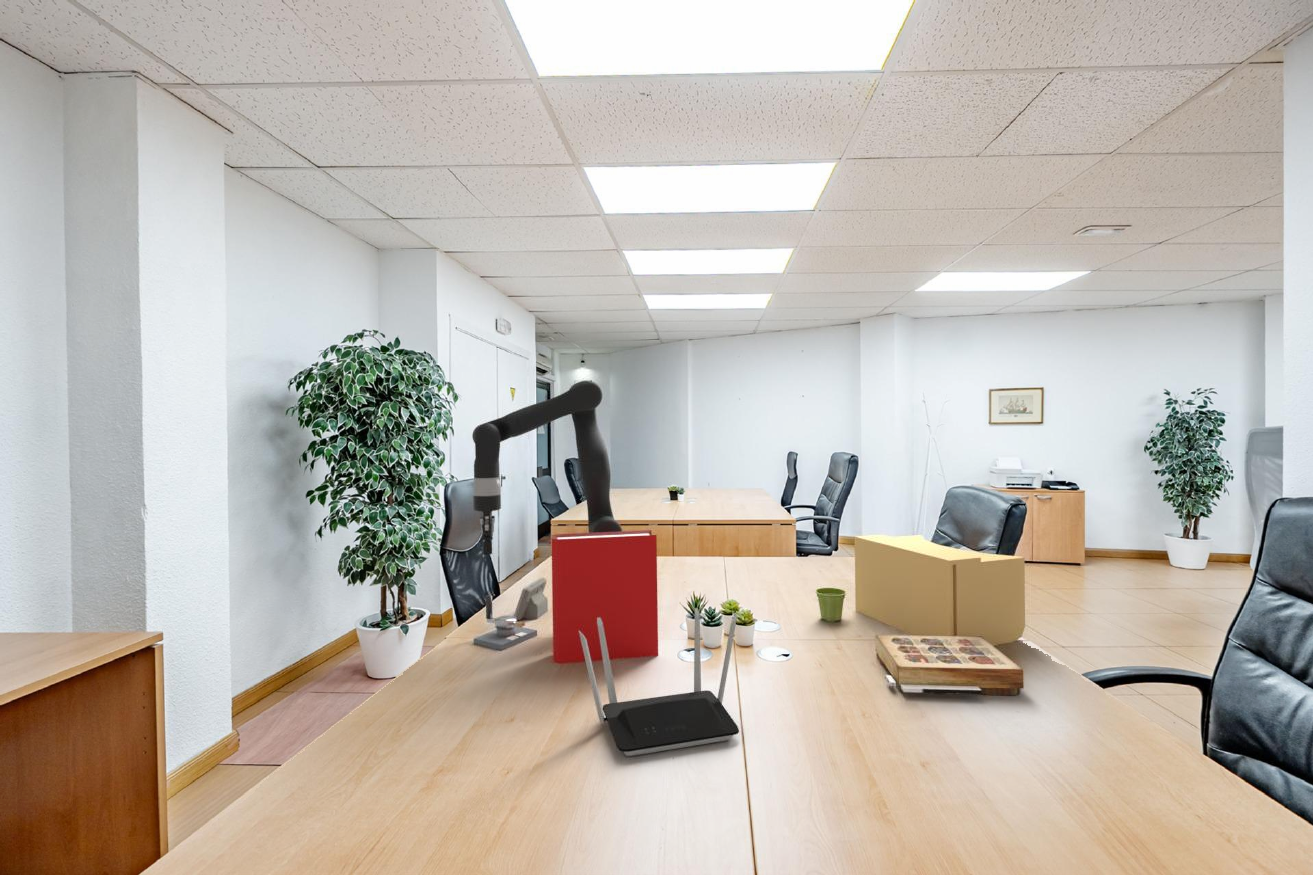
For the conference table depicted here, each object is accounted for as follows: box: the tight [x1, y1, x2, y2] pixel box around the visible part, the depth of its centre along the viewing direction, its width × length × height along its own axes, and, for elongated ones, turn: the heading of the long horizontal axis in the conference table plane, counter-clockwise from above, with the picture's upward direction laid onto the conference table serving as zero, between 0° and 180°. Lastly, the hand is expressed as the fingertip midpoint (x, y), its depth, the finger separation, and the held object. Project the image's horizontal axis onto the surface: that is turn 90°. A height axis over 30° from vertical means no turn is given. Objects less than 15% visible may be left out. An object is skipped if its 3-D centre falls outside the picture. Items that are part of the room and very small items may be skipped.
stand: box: [473, 626, 538, 651], centre depth 173 cm, size 11×14×4 cm
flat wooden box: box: [874, 634, 1024, 696], centre depth 142 cm, size 25×6×28 cm
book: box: [551, 529, 659, 665], centre depth 160 cm, size 27×8×32 cm, turn 100°
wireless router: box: [579, 607, 740, 757], centre depth 121 cm, size 34×23×20 cm
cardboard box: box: [854, 534, 1026, 646], centre depth 181 cm, size 40×26×24 cm, turn 18°
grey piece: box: [485, 594, 526, 629], centre depth 173 cm, size 6×13×8 cm, turn 65°
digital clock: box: [513, 577, 549, 621], centre depth 197 cm, size 16×9×11 cm, turn 157°
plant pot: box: [815, 587, 847, 622], centre depth 187 cm, size 9×9×9 cm
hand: (488, 553), depth 171 cm, fingers closed
